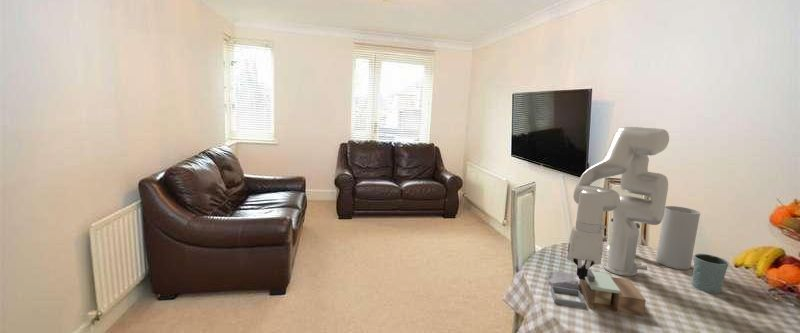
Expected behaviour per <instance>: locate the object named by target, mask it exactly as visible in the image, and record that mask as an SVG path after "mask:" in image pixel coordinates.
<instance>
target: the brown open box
mask: <svg viewBox="0 0 800 333" xmlns="http://www.w3.org/2000/svg"><path fill="white" fill-rule="evenodd" d="M610 277H611V278H612V280H613V281H614V283H615V284H616V285H617V287H618V288H619V290H620V294H618V293H612V296H611V303H610V305H606V304H600V303H594V302H595V295H596V292H595V290H592V289H591V288H590V286H589V284H588V282H587V281H586V279H585V280H583V279H579V281H578V283H579V291H580V293H581V295H582V297H583V299H584V301H585V304H586V305H587V307H588V308H590V309H595V310H596V309H597V310H603V311H610V312H616V313H621V314H627V315H634V316H639V317H643V316H644V315H645V314H644V313H645V307H646V301H647V300H646V298H645V296H643V295H642V293H641V291H639V289H638V288H637V287H636V286H635V285H634V283H633V282H632V280H631V279H629V278H621V277H616V276H610Z"/></svg>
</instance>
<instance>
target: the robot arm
mask: <svg viewBox="0 0 800 333" xmlns="http://www.w3.org/2000/svg"><path fill="white" fill-rule="evenodd" d="M669 143H670V135H669V132H668V131H667V130H666V129H663V128H656V127H653V128H652V127H641V126H640V127H639V126H624V127H620V128H618V129H617V131H616V133H615V134H614V135H613V137H612V139H611V141H610V143H609V146H608V148H607V150H606V152H605V154H604V157H603V159H602V161H599V162H597V163H595V164H593V165H592V166H590V167H589V168H587V169H586V170H585V171H584V172H583V173H582V174H581V175H580V177H579V179H578V182H577V184H576V186H575V188H574V191H573V200H574V203H575V204H577V213H576V220H575V226H573V227H572V228H571V232H570V234H569V236H570V237H569V239H568V242H567V255H566V260H567V261H569V262H570V261H571V262H573V263H574V264H575V265H576V267H577V268H576V276H577V277H578V279H579V280H580V279H583V280H585V277H587V272H588V269H589V270H590V268H591V267H592V266H595V265H602V268H603V269H604V270H605V271H607V272H610V273H613V274H615V275H620V276H624V277H633V276H637V275H638V270H642V271H647V270H648V265H645V264H642V263H640V262H636V261H635V260H636V255H637V248H638V241H639V240H638V239H639V235H640V234H639V232H640V231H639V229H638V227H637V226H636V224H635V223H641V224H646V225H653V226H657V225H659V224H662V219H663V216H664V210H665V206H666V203H667V198H668V197H667V196H668V191H669V179H668V177H667V176H666V175H665V174H663V173H659V172H658V173H657V172H651V171H648V168H649V163H650V159H649V156H655V155H658V154H660V153H662V152H663V151H664V150H665V149H666V148H667V147H668V144H669ZM620 175H621V177H620V189H621V190H622V191H623V192H625V193H630V194H634V195H638V196H645V197H649V198H650V199H647V198H641V197H638V196H637V197H636V196H631V195H620V194H619V192H617V191H616V190H614V189H612V188H611V189H610V188H605V187H601V186H596V185H595V186H594V185H592V184H593V183H594V182H596V181H598V180H600V179H601V180H602V179H605V178H610V177H614V176H620ZM604 212H612V218H613V222H612V223H613V226H612V233H610V240H609V246H610V247H609V250H608V255H607V261H604V262H603V263H602V258H603V246H604V245H603V243H604V242H603V241H604V240H603V232H602V230H606V228H607V227H606V225H605V224H602V222H603V221H602V220H603V214H604ZM582 261H584V262H583V263H582Z"/></svg>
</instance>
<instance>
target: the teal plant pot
mask: <svg viewBox="0 0 800 333" xmlns="http://www.w3.org/2000/svg"><path fill="white" fill-rule="evenodd" d="M729 264H730V263H729V261H728V260H727V259H725V258H722V257H719V256H717V255H712V254H707V253H696V254H694V257H693V271H692V272H693V273H692V277H691V278H692V279H691V285H692V287H693V288H695V289H697V290H698V291H703V292H705V293H708V292H709V294H719V292H720V293H721V290H722V287H723V282H724V279H725V276H726V273H727V269H728V267H729Z"/></svg>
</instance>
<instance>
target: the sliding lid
mask: <svg viewBox="0 0 800 333" xmlns="http://www.w3.org/2000/svg"><path fill="white" fill-rule="evenodd" d="M611 277H612V276H611V275H610V274H609V273H608V272H607V273H606V272H600V271H592V269H590V268H589V269H588V272H587V277H585V279H586V281H587V282H588V284H589V286H590V288H591V289H592V290H598V291H605V292H612V293H618V294H620V290H619V288H618V287H617V285H616V284H615V283H614V281H613V280H612V278H611Z"/></svg>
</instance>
